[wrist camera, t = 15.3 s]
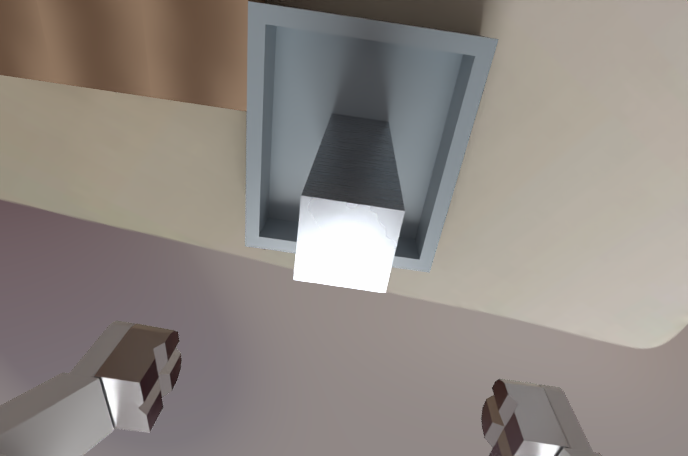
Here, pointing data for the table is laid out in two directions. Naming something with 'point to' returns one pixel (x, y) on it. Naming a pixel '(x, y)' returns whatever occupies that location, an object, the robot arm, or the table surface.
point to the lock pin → (350, 207)
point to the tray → (357, 113)
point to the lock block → (132, 47)
